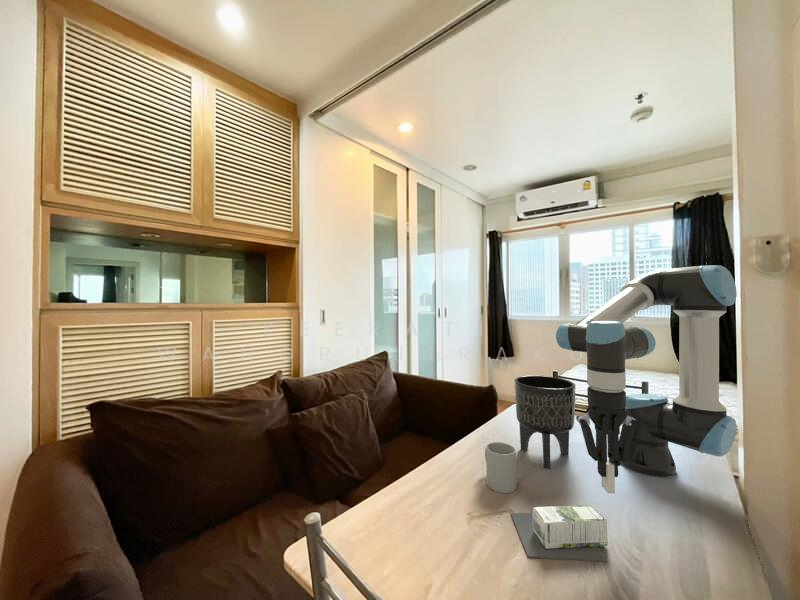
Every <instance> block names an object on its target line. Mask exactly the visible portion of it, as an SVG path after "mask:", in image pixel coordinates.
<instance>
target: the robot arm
mask: <svg viewBox="0 0 800 600" xmlns="http://www.w3.org/2000/svg"><path fill="white" fill-rule="evenodd" d="M737 294H738V293H737V287H736V283H735V279H734V277H733V275H732V274H731V271H730V270H729V269H728V268H726V267H725V266H723V265H716V264H715V265H713V264H712V265H698V266H697V265H695V266H685V267H684V266H683V267H674V268H660V269H656V270H653V271H649V272H647V273H644V274H642V275H640V276H638V277H636V278H634V279H632V280H631V281H629V282H627V283H626V284H625V285H624V286H622V287H621V288H620V292H618V294H616V295H615V296H613V297H611V298H610V299H609V300H608V301H606V302H605V303H603V304H601V305H600V306H599V307H597V308H596V309H595V310H593V311H592V312H590V313H589V314H587V315H586V316H584V317H583V318H582V319H580V320H579V321H577V322H576V323H563V324H560V325H559V326H558V328H557V329H556V332H555V340H556V343H557V345H558V347H560V348H561V349H563V350H568V351H571V352H582V353H586V379H587V380H586V384H587V385H588V387H587V388H586V389H587V390H586V391H587V393H586V395H587V408H586V410H585V413H584V414H583V415H581V416H580V415H576V416H575V420H576V421H577V422H578V423H579V424H578V425H580V429H581V433H582V436H583V440H584V443H585V446H586V450H587V454H588V456H589V457H590V458H591V459H593V461H595V462H597V473H598V475H600V477H601V487H602V488H603V490H604V491H605V492H606V493H607V494H616V484H615V483H616V481H615V478H618V477H619V467H620V466H621V465H623V466H624V467H626V468H627V469H629V470H632V471H634V472H637V473H640V474H642V475H643V474H644V475H647V476H650V477H657V478H669V477H670V478H671V477H673V476H675V475H676V474H677V468H676V463H675V459H674V457H673V455H672V453H671V450H670V448H669V443H671V444H675V445H679V446H682V447H685V448H687V449H691V450H693V451H696V452H699V453H701V454H706V455H711V456H713V457H723V456H725V455H726V454H728V453H729V452H730V450H731V448H732V447H733V445H734V443H735V439H736V437H737V430H738V425H737V421H736V419H735V418H734V417H732V416H730V415H728V413H727V412H728V411H727V409H728V408H727V407H726V406H724V405H723V404H722V403H721V402H720V318H721V316H724V314H726V313H727V307H730V306H733V305H734V304H735V303H736V300H737ZM653 306H672V311H673V313H675V314H676V315H677V316H678V317H679V324H678V325H679V326H678V327H679V331H678V332H679V333H678V334H679V338H678V340H679V341H678V342H679V348H678V351H679V354H678V356H679V357H678V358H679V366H678V367H679V368H678V369H679V370H678V371H679V373H678V376H679V377H678V379H679V380H678V381H679V383H678V386H679V389H678V394H679V395H678V396H676V397H674V398H673V399H672V403H670V402H669V399H668V397H667V396H664V395H662V394H661V395H660V394H654V393H631V394H628V395H627V393H626V391H625V390H626V389H627V383H626V381H627V380H626V360H631V359H639V358H642V357H643V358H644V357H645V356H648V355H651V353H652V352H654V350H655V348H656V345H657V342H656V338H655V336H654V335H653V333H652V332H651V331H650V330H649V329H647V328H645V327H643V326H642V327H641V326H631V325H630V326H627V327H625V325H624V323H625V322H627V321H628V320H629V319H630V318H632V317H633V316H634V315H635V314H637V313H638V312H639V311H643V310H647V309H649V308H650V307H653ZM591 422H592V424H594V429H595V439H594V436H593V430H592V429H591V426H590V425H591ZM620 427H621V428H620ZM620 429H621V430H620Z"/></svg>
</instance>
